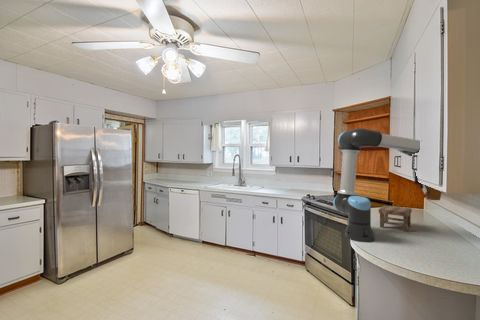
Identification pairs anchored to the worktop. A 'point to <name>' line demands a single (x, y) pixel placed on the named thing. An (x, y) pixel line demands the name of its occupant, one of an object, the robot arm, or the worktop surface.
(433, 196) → the disposable coffee cup
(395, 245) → the worktop surface
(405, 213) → the walnut stool
